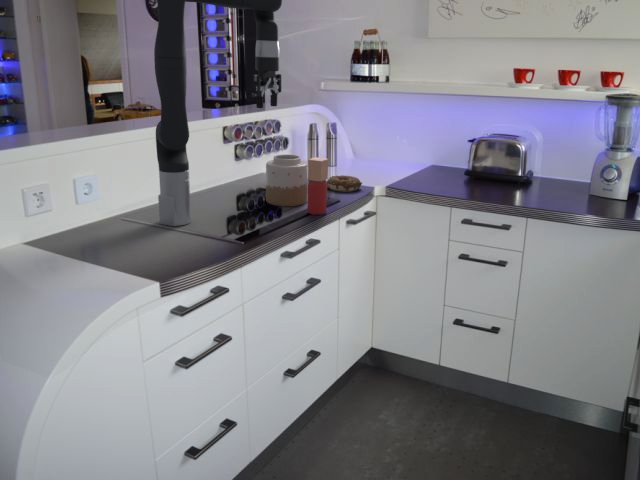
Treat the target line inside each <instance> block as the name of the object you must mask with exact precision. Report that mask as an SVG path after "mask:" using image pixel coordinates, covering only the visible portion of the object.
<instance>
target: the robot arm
mask: <svg viewBox="0 0 640 480" xmlns="http://www.w3.org/2000/svg"><path fill="white" fill-rule="evenodd" d="M186 2H187V3H199V4H200V3H201V4H206V5H212V6H216V7H217V6H218V7H224V8H229V9H238V10H253V14H254V21H255V24H256V25H255V26H256V28H255V29H256V33H255V37H256V39H255V40H256V42H255V70H256V71H257V72H258V74H252V75H251V76H252V78H251V94H252V95H254V96H255V97H256V98H255V102H256V104H255V105H256V108H257V109H263V108H264V94H265V92H267V90H268V91H269V93H270V98H269V99H270V106H271V107H277V106H278V95H279V93H282V92H283V91H282V74H281V73H277V72H279V70H280V46H279V44H280V43H279V35H280V34H279V24H278V23H277V22H276V21H275V12H277V11H279V9H281V7H282V5H283V0H156V3H157V13H158V24H157V25H158V26H157V31H156V36H155V42H154V48H153V49H154V51H153V52H154V53H153V54H154V55H153V56H154V57H153V58H154V62H153V63H154V73H155V80H156V86H157V89H158V94H159V98H160V121H159V122H158V123H157V124H156V127H155V146H156V158H157V162H158V164H157V165H158V171H159V172H158V174H159V176H158V177H159V191H160V192H159V194H158V196H157V199H158V213H159V214H158V217H159V224H160V225H165V226H170V227H174V226H175V227H178V226H186V225H188V224H190V223H191V222H192V217H191V215H192V212H191V211H192V210H191V190H190V185H191V184H190V165H189V164H190V162H189V158H188V153H187V144H188V142H189V140H190V139H189V138H190V129H189V122H188V115H187V114H188V113H187V104H186V103H187V100H186V99H187V98H186V97H187V71H188V70H187V69H188V68H187V67H188V66H187V51H186V48H187V47H186V46H187V44H186V30H185V10H186Z"/></svg>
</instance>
